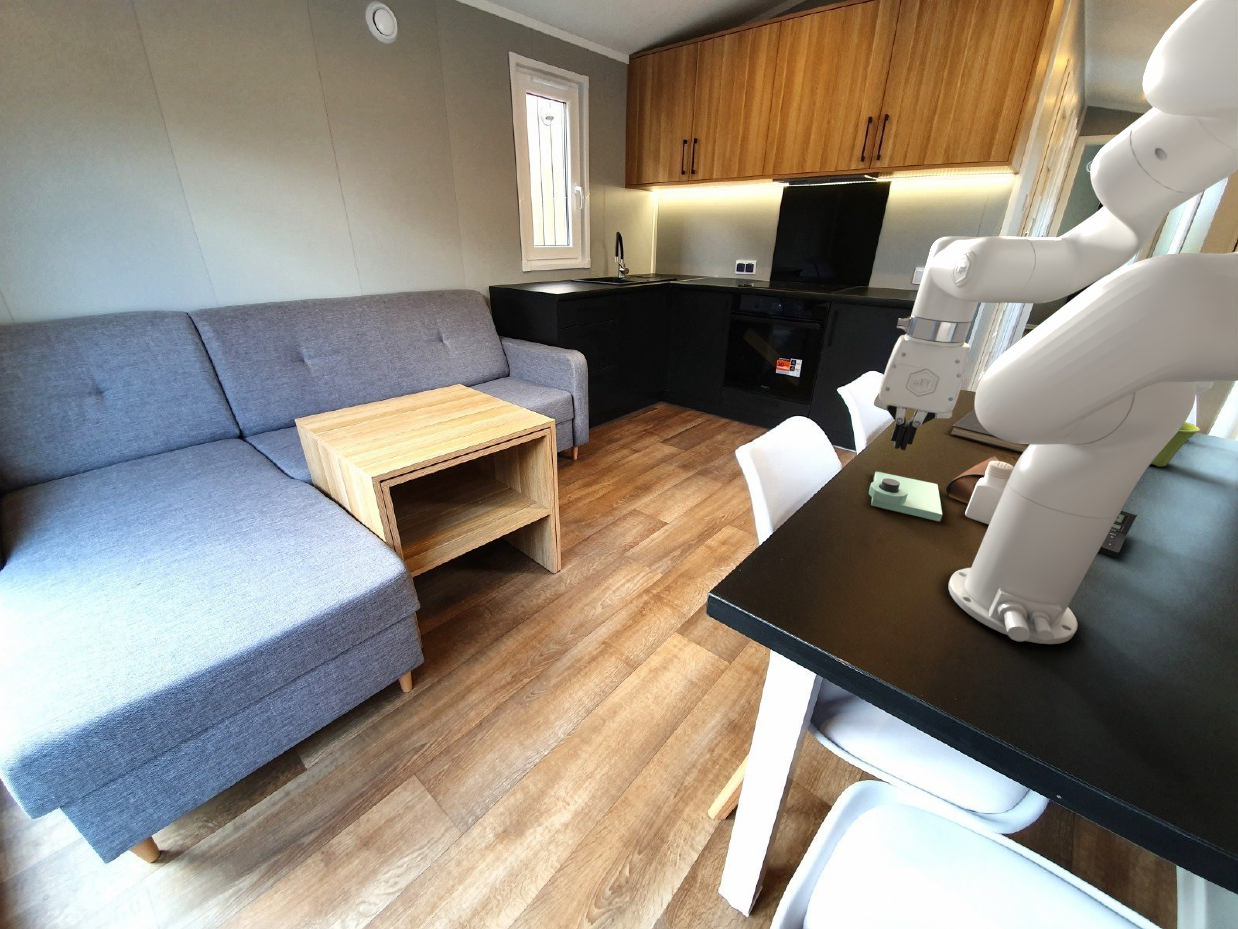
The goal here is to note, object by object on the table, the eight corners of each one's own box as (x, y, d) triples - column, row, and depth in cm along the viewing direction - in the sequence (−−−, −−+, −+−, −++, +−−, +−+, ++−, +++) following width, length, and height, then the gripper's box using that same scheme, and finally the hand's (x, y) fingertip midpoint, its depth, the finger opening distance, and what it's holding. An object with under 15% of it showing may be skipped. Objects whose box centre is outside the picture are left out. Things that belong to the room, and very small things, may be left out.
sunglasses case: (1000, 513, 80) (988, 474, 80) (952, 516, 85) (941, 479, 85) (1034, 484, 90) (1024, 449, 90) (989, 489, 96) (980, 456, 96)
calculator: (1036, 529, 77) (1043, 512, 75) (1053, 506, 83) (1061, 491, 82) (1115, 557, 70) (1125, 540, 69) (1128, 530, 77) (1137, 514, 76)
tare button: (897, 495, 80) (900, 486, 79) (879, 491, 81) (882, 482, 80) (897, 488, 82) (900, 480, 81) (880, 484, 83) (882, 476, 82)
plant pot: (1187, 467, 101) (1210, 427, 97) (1162, 473, 98) (1185, 433, 94) (1131, 449, 109) (1150, 412, 105) (1106, 455, 105) (1125, 417, 102)
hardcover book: (949, 434, 113) (952, 425, 112) (974, 413, 128) (978, 405, 127) (1034, 456, 103) (1038, 446, 102) (1051, 431, 118) (1055, 422, 117)
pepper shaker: (962, 517, 79) (983, 464, 75) (969, 508, 82) (989, 457, 78) (992, 527, 77) (1015, 473, 73) (997, 518, 79) (1020, 465, 75)
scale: (940, 524, 77) (946, 507, 76) (865, 506, 81) (870, 490, 80) (935, 491, 87) (940, 476, 86) (869, 476, 92) (873, 462, 90)
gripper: (878, 328, 70) (847, 444, 79) (1003, 342, 64) (955, 466, 73) (880, 320, 76) (851, 429, 85) (994, 333, 70) (951, 448, 79)
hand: (899, 446), depth 79 cm, fingers closed
